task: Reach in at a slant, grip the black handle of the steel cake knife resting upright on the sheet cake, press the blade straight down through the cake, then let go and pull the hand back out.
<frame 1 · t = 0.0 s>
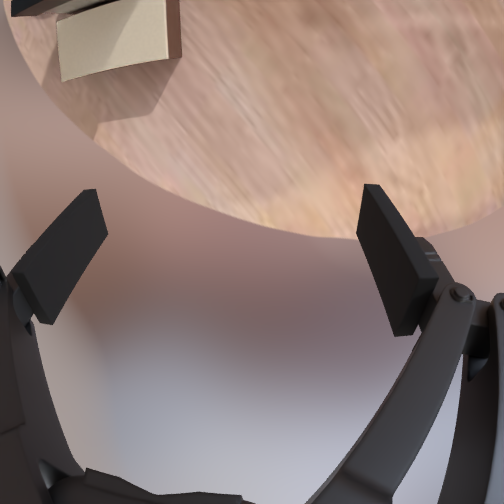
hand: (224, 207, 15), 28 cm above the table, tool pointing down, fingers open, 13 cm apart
cake: (127, 5, 28), on the table
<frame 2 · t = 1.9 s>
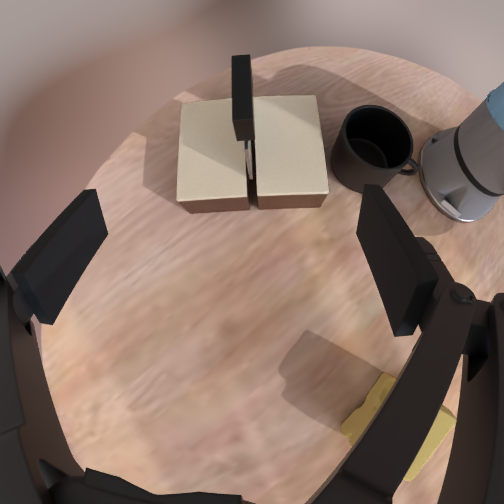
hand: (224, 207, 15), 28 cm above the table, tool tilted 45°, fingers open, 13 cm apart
knife: (246, 117, 31), point 12 cm above the table, slide at 0.0 cm
cake: (252, 163, 44), on the table
mug: (368, 167, 43), on the table
cheese: (386, 412, 38), on the table
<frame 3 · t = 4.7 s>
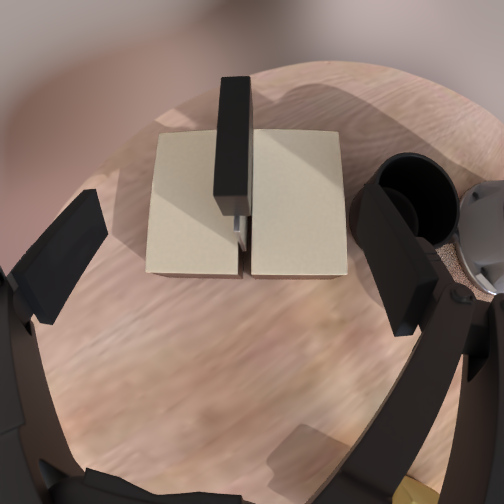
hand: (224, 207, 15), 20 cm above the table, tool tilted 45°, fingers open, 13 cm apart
knife: (240, 170, 22), point 12 cm above the table, slide at 0.0 cm
cake: (249, 215, 35), on the table
mug: (394, 227, 34), on the table
cheese: (381, 499, 29), on the table
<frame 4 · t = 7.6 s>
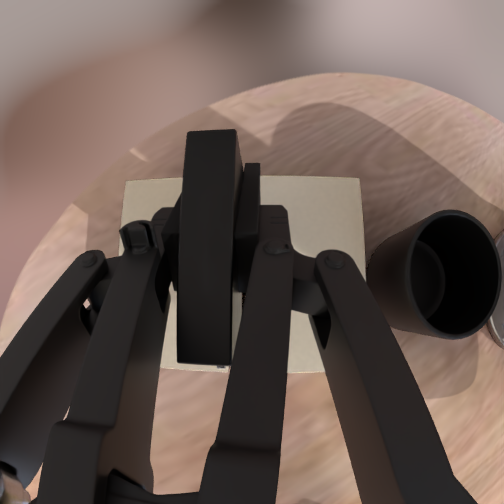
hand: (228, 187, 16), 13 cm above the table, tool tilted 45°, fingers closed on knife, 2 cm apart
knife: (227, 261, 16), point 12 cm above the table, slide at 0.0 cm, touching gripper
cake: (243, 278, 28), on the table
mug: (418, 286, 28), on the table
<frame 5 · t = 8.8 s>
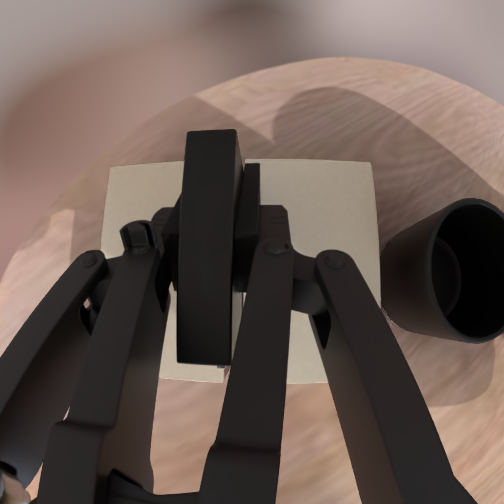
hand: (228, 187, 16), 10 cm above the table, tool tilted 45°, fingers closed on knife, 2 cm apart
knife: (227, 261, 16), point 10 cm above the table, slide at -2.9 cm, touching gripper
cake: (241, 275, 25), on the table
mug: (432, 285, 25), on the table
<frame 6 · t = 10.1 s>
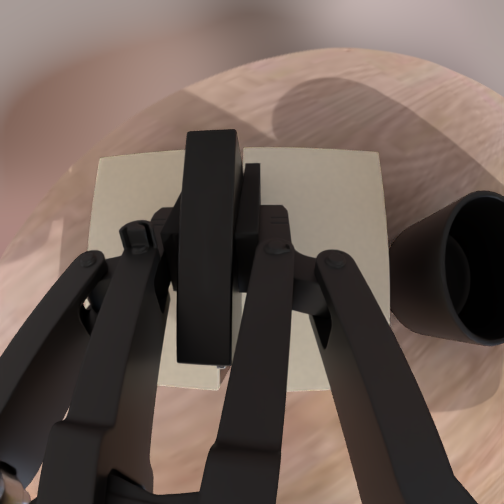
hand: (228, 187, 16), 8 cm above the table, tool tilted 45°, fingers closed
knife: (227, 261, 16), point 8 cm above the table, slide at -4.5 cm
cake: (239, 274, 24), on the table
mug: (441, 284, 23), on the table
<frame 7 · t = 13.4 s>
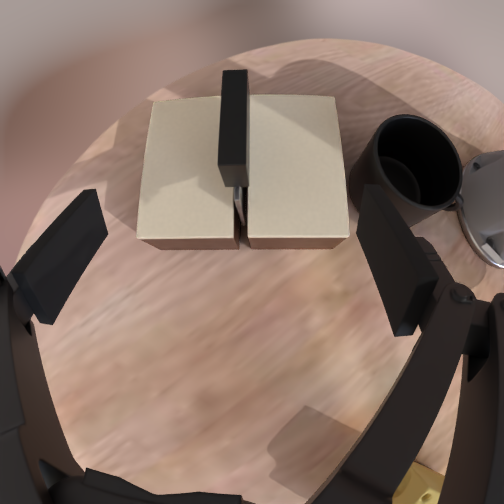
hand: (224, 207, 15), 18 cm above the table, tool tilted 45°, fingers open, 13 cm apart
knife: (240, 151, 25), point 8 cm above the table, slide at -4.5 cm
cake: (245, 184, 33), on the table
mug: (396, 196, 33), on the table
cheese: (391, 489, 27), on the table
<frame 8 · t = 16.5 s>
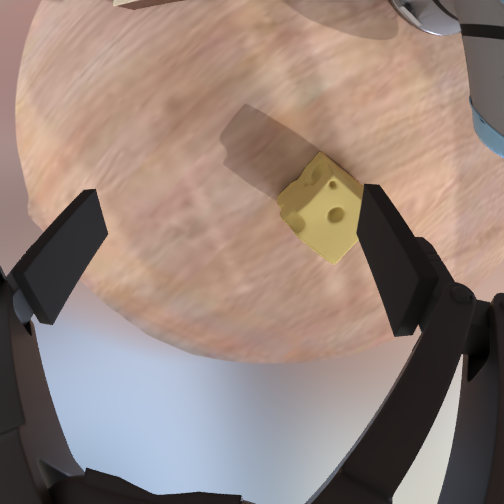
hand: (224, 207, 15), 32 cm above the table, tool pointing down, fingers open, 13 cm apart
cheese: (323, 190, 48), on the table
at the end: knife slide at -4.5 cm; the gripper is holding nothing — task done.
